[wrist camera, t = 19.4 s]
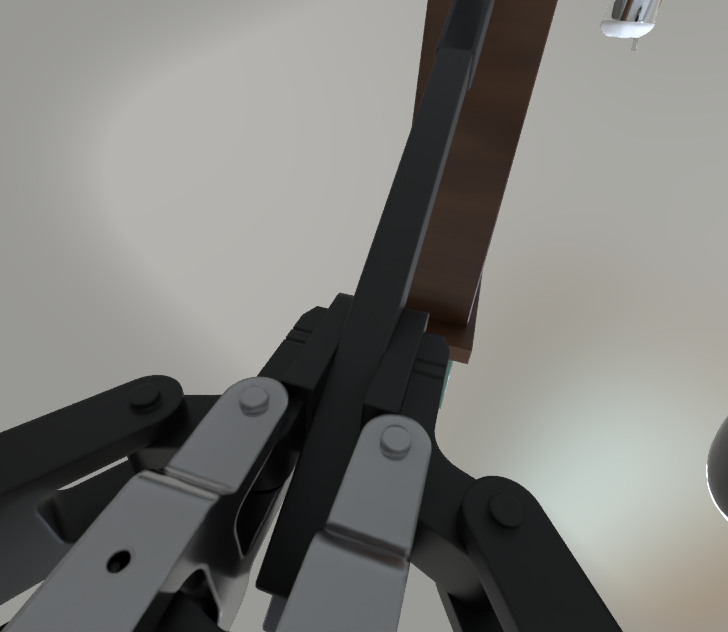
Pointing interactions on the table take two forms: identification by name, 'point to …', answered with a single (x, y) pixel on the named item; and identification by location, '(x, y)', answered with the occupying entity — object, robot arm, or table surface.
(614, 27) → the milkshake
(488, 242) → the stand
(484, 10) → the pen
